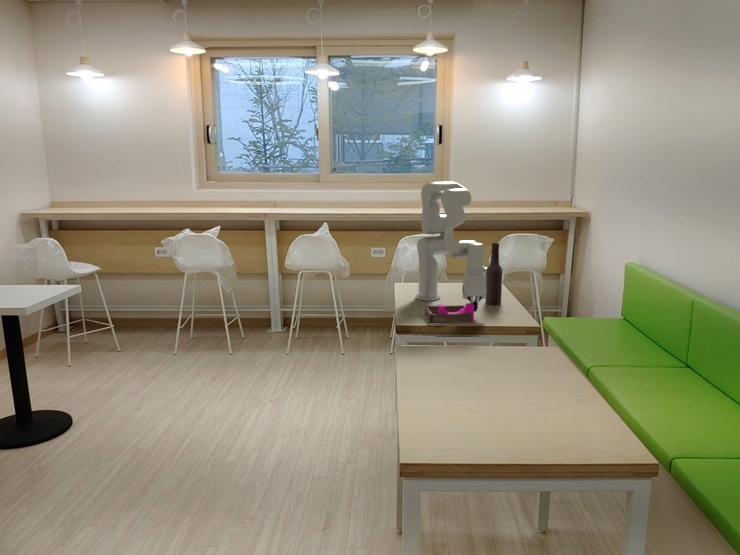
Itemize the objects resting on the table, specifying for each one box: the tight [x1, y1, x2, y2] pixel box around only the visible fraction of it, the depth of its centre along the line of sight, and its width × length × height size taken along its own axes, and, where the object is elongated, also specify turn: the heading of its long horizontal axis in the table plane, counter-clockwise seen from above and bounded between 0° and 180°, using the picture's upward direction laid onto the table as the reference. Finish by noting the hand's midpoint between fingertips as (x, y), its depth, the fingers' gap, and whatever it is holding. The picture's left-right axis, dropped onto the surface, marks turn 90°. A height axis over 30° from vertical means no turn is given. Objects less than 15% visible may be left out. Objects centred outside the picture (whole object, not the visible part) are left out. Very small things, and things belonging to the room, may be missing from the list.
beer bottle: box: [485, 242, 503, 306], centre depth 285 cm, size 8×8×30 cm
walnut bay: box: [424, 304, 473, 324], centre depth 262 cm, size 15×18×4 cm
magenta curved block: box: [437, 302, 475, 323], centre depth 259 cm, size 15×6×8 cm, turn 95°
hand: (473, 310), depth 263 cm, fingers closed
